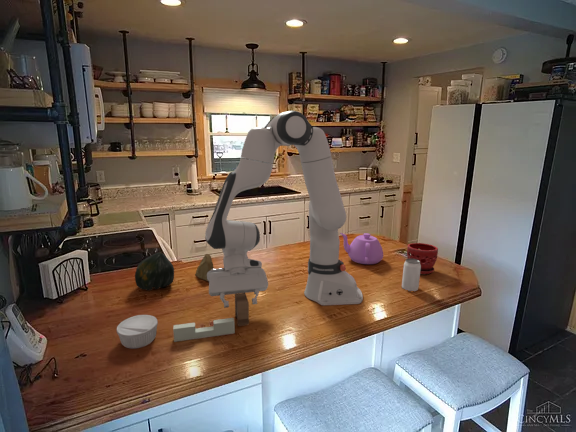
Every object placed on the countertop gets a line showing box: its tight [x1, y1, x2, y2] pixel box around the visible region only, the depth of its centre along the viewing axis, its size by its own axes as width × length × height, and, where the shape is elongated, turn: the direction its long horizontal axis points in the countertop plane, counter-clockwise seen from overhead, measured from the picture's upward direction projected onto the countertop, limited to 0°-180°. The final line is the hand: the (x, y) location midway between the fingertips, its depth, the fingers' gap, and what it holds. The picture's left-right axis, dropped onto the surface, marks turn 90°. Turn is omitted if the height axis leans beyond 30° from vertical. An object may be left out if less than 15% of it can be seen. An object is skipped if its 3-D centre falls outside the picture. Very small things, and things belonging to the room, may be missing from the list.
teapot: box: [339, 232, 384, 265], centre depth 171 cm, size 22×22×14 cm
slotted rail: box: [172, 317, 236, 343], centre depth 105 cm, size 18×2×4 cm, turn 106°
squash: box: [134, 252, 175, 291], centre depth 137 cm, size 14×15×15 cm
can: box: [401, 258, 421, 292], centre depth 140 cm, size 6×6×12 cm
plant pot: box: [406, 242, 439, 275], centre depth 158 cm, size 13×13×12 cm
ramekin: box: [116, 314, 159, 349], centre depth 103 cm, size 11×11×5 cm
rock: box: [194, 253, 215, 282], centre depth 146 cm, size 11×9×10 cm
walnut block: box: [234, 293, 250, 327], centre depth 114 cm, size 7×4×8 cm, turn 16°
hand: (240, 305), depth 115 cm, fingers open, 8 cm apart
